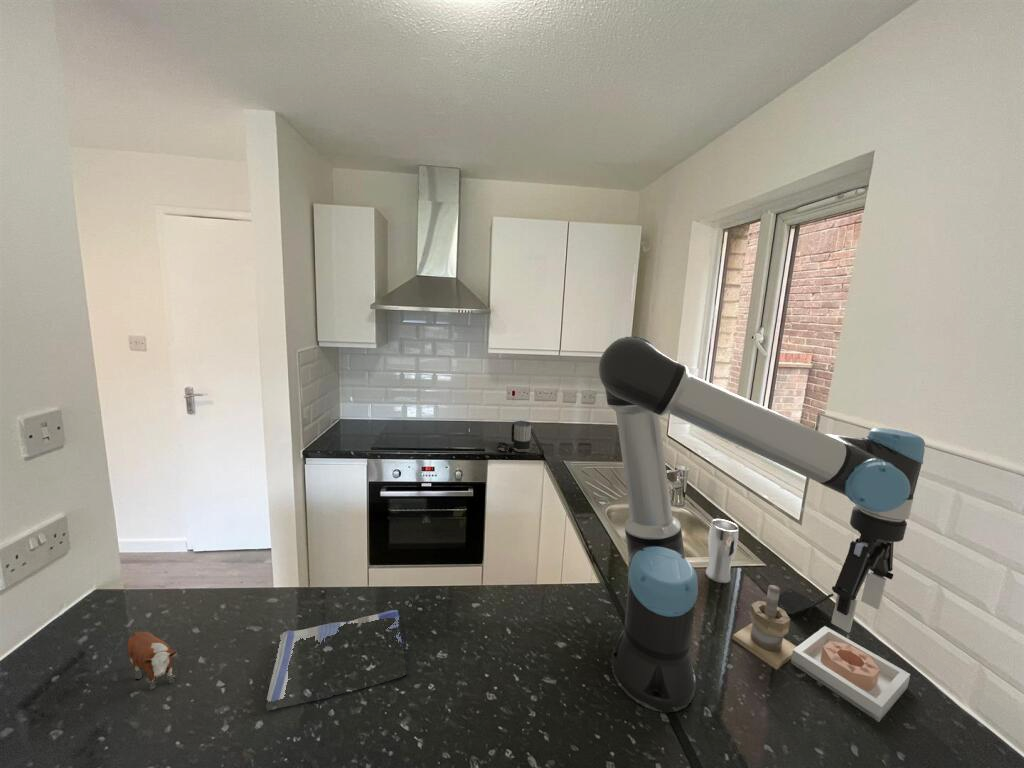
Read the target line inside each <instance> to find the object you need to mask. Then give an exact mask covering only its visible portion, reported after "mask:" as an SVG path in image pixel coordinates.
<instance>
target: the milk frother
mask: <svg viewBox="0 0 1024 768" xmlns="http://www.w3.org/2000/svg"><path fill="white" fill-rule="evenodd" d="M531 432H532V422H530V421H526V420H516V421H514V422H513V423H512V425H511V436H510V437H511V442H512V447H514V448H517V449H529V448H530V449H531ZM496 445H497V446H496V448H497V449H498V448H500V447H501V448H505V449H506V446H508V445H509V444H508V443H506V442H502V441H500V442H498V443H497V444H496ZM505 445H506V446H505Z"/></svg>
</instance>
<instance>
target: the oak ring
mask: <svg viewBox="0 0 1024 768" xmlns="http://www.w3.org/2000/svg"><path fill="white" fill-rule="evenodd" d="M765 606H766V601H762V600H757V601H756V602H753V603H751V606H750V613H749V619H750V621H751V623H753V625H754V626H755V627H757V628H758V629H760V630H761V631H763V632H764V633H766V634H768V635H773V636H778V637H782V636H783V637H785V635H787V634H788V633H789V631H790V630H789V628H790V624H791V623H790V622H791V618H790V617H788V615H787V613H786V612H785V611H784V610H783V609H781V608H779V607H778V606H777V611H776V618H770V617H768V616H766V615H765V614H764V612H765Z"/></svg>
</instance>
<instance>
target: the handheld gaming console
mask: <svg viewBox="0 0 1024 768" xmlns="http://www.w3.org/2000/svg"><path fill="white" fill-rule="evenodd" d="M832 597H834V593H830V594H827V595H826V596H823V597H821V598H819V599H816V600H815V599H813V600H812V599H810V598H808V597H806V596H805V595H803V594H801V593H799V592H797V591H796V590H794V589H792V588H788V589H786V590H785V591H783V592H781V593H779V599H778V605H777V606H778V607H779V608H781V609H783V610H784V611H785V612H786V613H787V615H788V617H789V618H790V619H792V620H793V619H795V618H796V617H798V616H799V615H801V614H803V613H805V612H806V611H808V610H811V609H814V608H815V607H816V606H817V607H818V605H820V604H822V603H824V602H825V601H826V600H829V599H830V598H832Z"/></svg>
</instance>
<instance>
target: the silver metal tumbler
mask: <svg viewBox="0 0 1024 768" xmlns="http://www.w3.org/2000/svg"><path fill="white" fill-rule="evenodd" d="M739 529H740V527H739V526H738V525H737V524H736V523H734V522H732V521H729V520H726V519H721V518H714V519H712V520H711V523H710V526H709V532H708V538H707V543H708V547H707V549H708V563H707V566H706V569H705V575H706V576H707V578H709V579H710V580H712V581H714V582H717V583H719V584H728V583H730V582H731V579H732V577H731V567H732V563H733V561H734V558H735V555H736V553H737V548H738V543H739V531H740V530H739Z"/></svg>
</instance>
